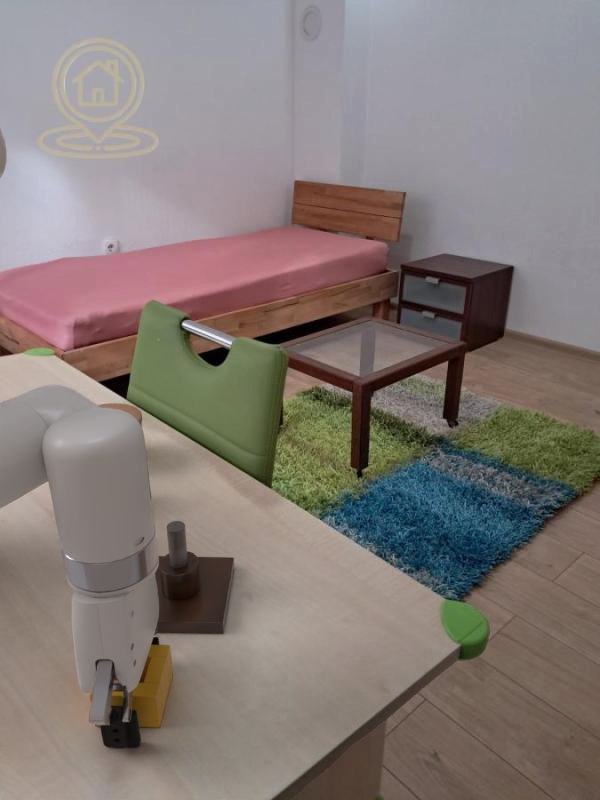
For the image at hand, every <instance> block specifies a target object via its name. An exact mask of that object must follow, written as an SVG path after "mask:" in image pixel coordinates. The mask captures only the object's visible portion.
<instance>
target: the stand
mask: <svg viewBox="0 0 600 800" xmlns="http://www.w3.org/2000/svg"><path fill="white" fill-rule="evenodd" d="M166 536H167V547H168V553H167V554H165V555H159V566H158V568H157V571H156V572H155V576H156V582H157V589H158V598H159V617H158V622H157V624H158V632H157V633H175V634H178V633H182V634H224V630H225V627H226V619H227V613H228V607H229V601H230V596H231V589H232V584H233V583H232V582H233V578H234V571H235V557H232V556H230V557H229V556H197V554H196V553H193V552H191V551H188V545H187V533H186V524H185V522H184V521H181V520H173V521H170V522H168V524H166Z"/></svg>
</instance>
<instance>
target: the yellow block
mask: <svg viewBox="0 0 600 800" xmlns="http://www.w3.org/2000/svg"><path fill="white" fill-rule="evenodd" d="M172 661H173V660H172V652H171V645H170V644H160V645H151V647H150V650H149V653H148V656H147V660H146V663H145V666H144V669H143V672H142V675H141V678H140V681H139V683H138V685H137V687H136V688H135V689H134V690H133V701H132V710H135V711H137V717H138V723H139V728H160V727H161V724H162V721H163V717H164V712H165V708H166V704H167V700H168V695H169V691H170V687H171V685H172V684H171V683H172V680H173V676H174V673H173V672H174V671H173V663H172ZM114 680H118V679H117V678H116V673H115V677H114ZM93 690H94V688H93ZM92 696H93V691H92V693H89V701H90V703H91V702H92ZM111 706H123V692H117V691H112V697H111ZM94 726H95V727H100V725H95V724H94Z"/></svg>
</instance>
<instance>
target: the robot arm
mask: <svg viewBox="0 0 600 800" xmlns="http://www.w3.org/2000/svg"><path fill="white" fill-rule="evenodd" d="M5 141H6V140H5V137H4V135H3V133H2V129H1V128H0V179H1V178H2V176H3V174H4V172H5V169H6V166H7V146H6V145H7V144H6V142H5ZM98 405H99V404H96V403H95V402H94V401H92V400H90V398H87V397H86V396H84V395H83V394H82V393H80V392H78V391H76V390H74V389H73V388H71V387H68V386H66V385H63V384H46V385H41V386H39V387H36V388H33V389H31V390H29V391H26V392H24V393H21V394H19V395H17V396H14V397H12V398H9V399H6V400H3V401H1V402H0V509H2V508H4V507H6V506H7V505H9V504H12V503H13V502H15V501H17V500H19V499H20V498H22V497H24V496H25V495H27V494H28V493H29V494H30V492H32V491H34V490H35V489H37V488H39V487H41V486H43V485H44V484H47V483H48V487H49V491H50V498H51V502H52V508H53V512H54V517H55V518H54V519H55V523H56V528H57V529H56V530H57V534H58V538H59V544H60V549H61V554H62V559H63V564H64V570H65V575H66V580H67V583H68V585H69V587H70V588H71V589H72V590H73V591H72V595H71V631H72V641H73V651H74V659H75V666H76V675H77V679H78V680H77V681H78V685H79V688H80V691H82V692H83V693H89V694H90V693H92V691H93V696H92V702H91V701H90V710H89V715H88V723H89V724H90V725H94V726H95V725H100V726H99V727H100V733H101V738H102V743H103V746H104V747H106V748H113V749H125V748H139V747H140V746H141V742H142V738H141V731H140V727H139V723H138V717H137V711H135V710H132V701H133V690H134V689H135V688H136V687H137V685H138V683H139V681H140V678H141V675H142V672H143V669H144V666H145V663H146V660H147V656H148V653H149V650H150V647H151V645H161V644H160V637H159V636H157V635H158V633H159V632H158V624H157V622H158V617H159V598H158V589H157V582H156V576H155V572H156V571H157V568H158V566H159V556H160V555H159V548H158V541H157V531H156V523H155V516H154V515H155V514H154V505H153V499H152V498H153V497H152V489H151V482H150V480H151V479H150V472H149V464H148V457H147V456H148V455H147V448H146V439H145V433H144V429H143V426H142V427H141V425H140V423H139V421H138V420H137V419H136V418H135V417H134V416H133V415H131V414H129V413H127V412H125V411H122V410H119V409H114V408H102V407H100V406H98ZM115 673H116V678H117V679H118V680H114V677H115ZM93 688H94V690H93ZM112 691H117V692H123V706H111V697H112Z"/></svg>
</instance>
